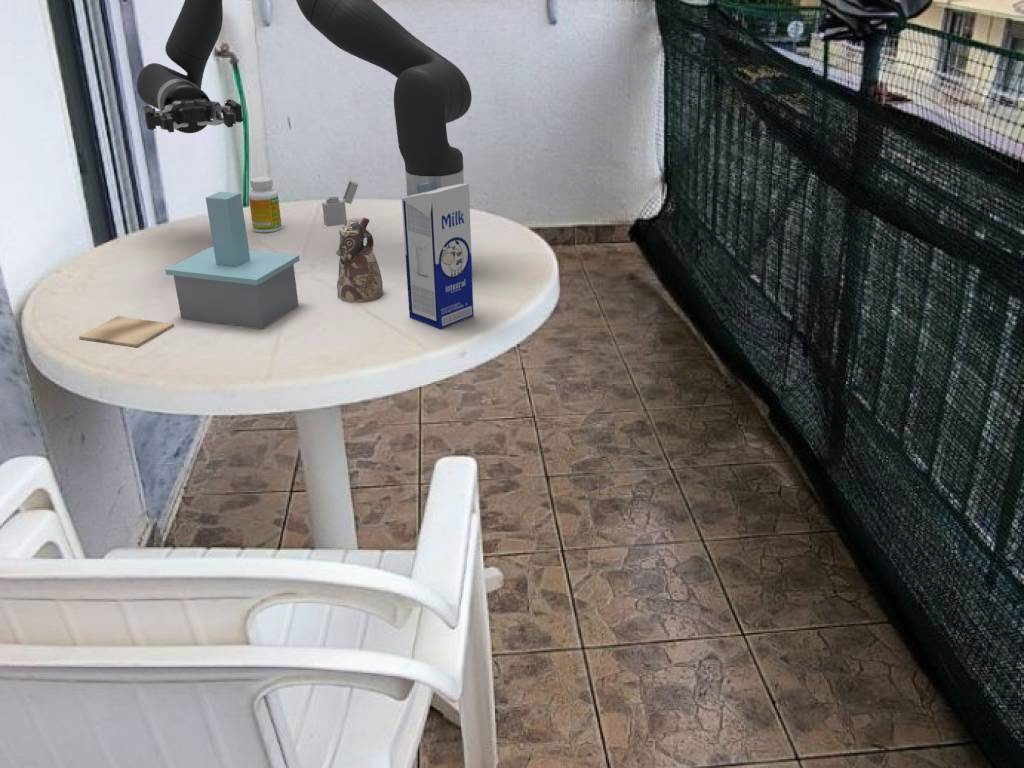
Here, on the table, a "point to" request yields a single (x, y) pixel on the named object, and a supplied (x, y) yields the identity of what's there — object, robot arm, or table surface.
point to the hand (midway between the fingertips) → (200, 122)
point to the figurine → (357, 264)
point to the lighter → (338, 206)
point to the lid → (231, 248)
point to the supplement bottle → (264, 205)
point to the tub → (237, 300)
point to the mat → (127, 331)
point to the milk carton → (438, 254)
